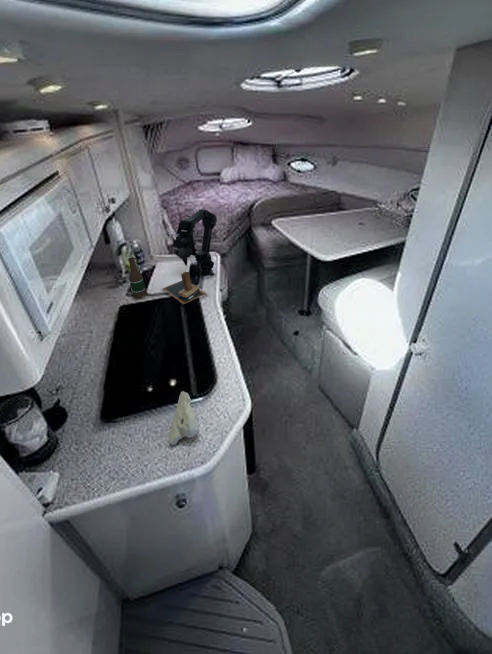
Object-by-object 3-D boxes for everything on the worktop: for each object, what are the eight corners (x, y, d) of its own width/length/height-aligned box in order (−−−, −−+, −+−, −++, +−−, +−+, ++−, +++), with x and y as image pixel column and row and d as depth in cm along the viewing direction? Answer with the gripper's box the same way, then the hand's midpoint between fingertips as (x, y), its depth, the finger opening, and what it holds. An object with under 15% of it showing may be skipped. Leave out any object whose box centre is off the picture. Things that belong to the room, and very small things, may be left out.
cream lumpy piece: (192, 456, 107) (215, 412, 110) (173, 451, 104) (197, 405, 107) (176, 434, 120) (196, 395, 123) (158, 428, 116) (180, 388, 120)
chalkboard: (162, 290, 198) (162, 288, 197) (184, 281, 206) (184, 279, 206) (183, 306, 182) (183, 304, 181) (206, 295, 190) (206, 293, 189)
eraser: (178, 297, 188) (174, 276, 182) (191, 288, 196) (187, 268, 190) (186, 299, 185) (182, 278, 179) (199, 290, 193) (195, 269, 187)
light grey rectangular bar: (188, 298, 186) (188, 298, 185) (192, 295, 188) (192, 295, 188) (189, 299, 185) (189, 298, 185) (193, 296, 188) (193, 295, 188)
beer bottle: (135, 292, 197) (126, 255, 186) (148, 292, 197) (140, 255, 185) (131, 299, 190) (121, 261, 179) (144, 299, 190) (135, 261, 178)
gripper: (166, 244, 184) (171, 269, 192) (193, 250, 176) (197, 276, 183) (179, 237, 193) (183, 261, 200) (205, 242, 184) (208, 267, 192)
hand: (192, 266), depth 194 cm, fingers open, 9 cm apart
